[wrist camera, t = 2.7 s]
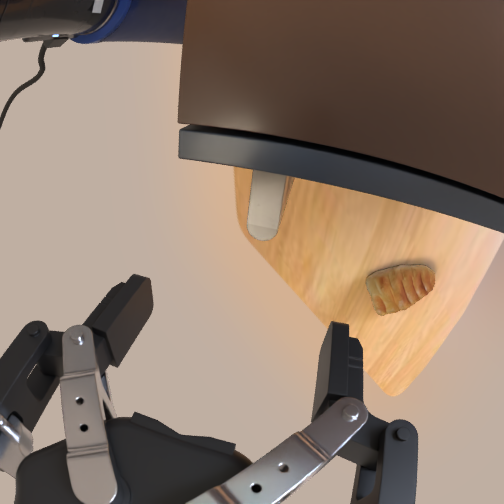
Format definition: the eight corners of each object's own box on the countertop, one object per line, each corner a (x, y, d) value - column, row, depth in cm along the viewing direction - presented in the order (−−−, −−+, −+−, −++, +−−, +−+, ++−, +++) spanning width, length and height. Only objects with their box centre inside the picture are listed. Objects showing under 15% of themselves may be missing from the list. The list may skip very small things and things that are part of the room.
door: (478, 203, 32) (577, 351, 12) (267, 149, 35) (178, 278, 15) (496, 149, 28) (630, 267, 8) (275, 87, 31) (178, 129, 11)
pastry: (426, 249, 37) (433, 266, 34) (437, 287, 39) (443, 305, 36) (361, 274, 41) (363, 292, 38) (377, 309, 44) (379, 328, 40)
